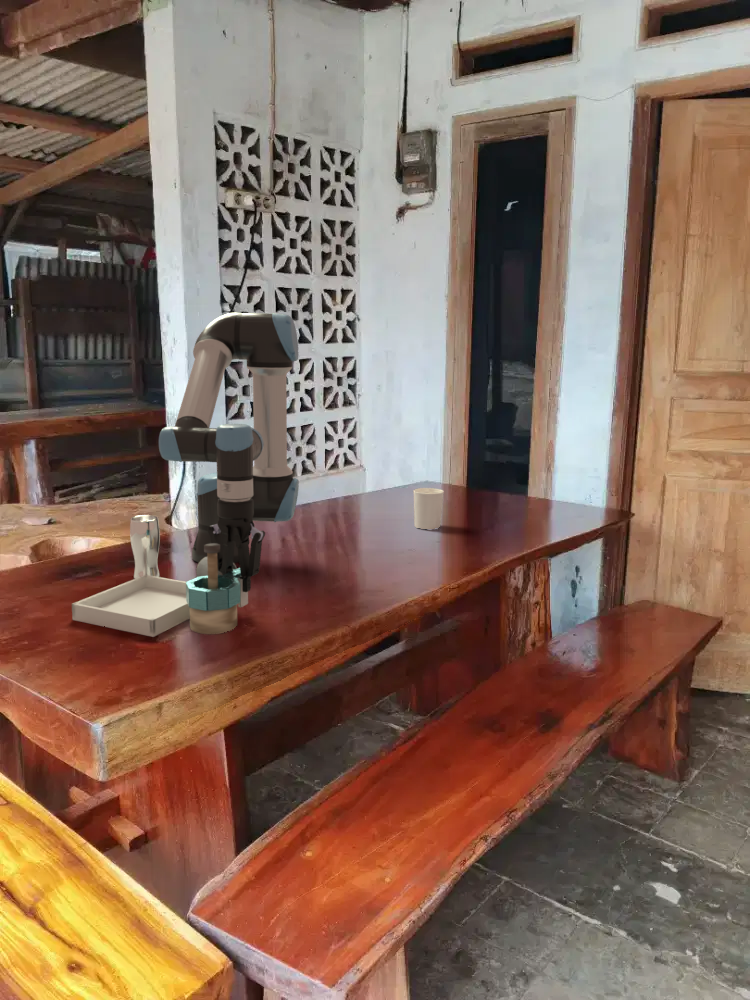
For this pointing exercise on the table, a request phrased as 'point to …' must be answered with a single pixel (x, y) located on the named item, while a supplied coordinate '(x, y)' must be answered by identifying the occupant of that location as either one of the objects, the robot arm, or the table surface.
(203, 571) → the ceramic mug
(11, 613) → the table surface
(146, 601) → the tray
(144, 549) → the beer glass
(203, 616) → the wooden peg stand
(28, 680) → the table surface
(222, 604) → the ring
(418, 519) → the candle holder
